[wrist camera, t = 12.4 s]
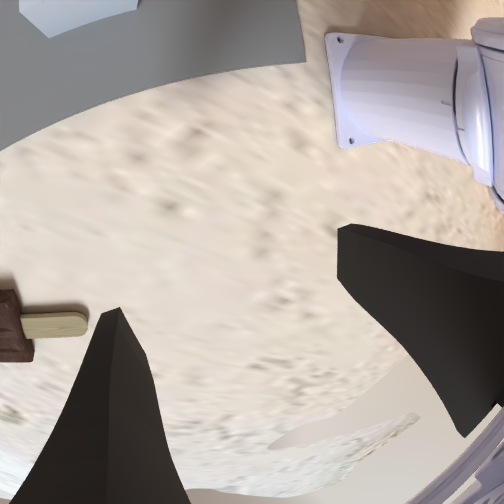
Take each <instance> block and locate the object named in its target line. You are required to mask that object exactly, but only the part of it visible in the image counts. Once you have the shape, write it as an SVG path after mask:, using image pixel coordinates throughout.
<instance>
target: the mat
mask: <svg viewBox="0 0 504 504" xmlns="http://www.w3.org/2000/svg"><path fill="white" fill-rule="evenodd" d="M302 62H306V56H305V50H304V44H303V38H302V32H301V27H300V22H299V17H298V11H297V6H296V2H295V0H138V4H137V9H136V10H132V11H128V12H124V13H121V14H117V15H113V16H110V17H107V18H103V19H100V20H97V21H94V22H91V23H88V24H85V25H82V26H79V27H77V28H74V29H71V30H69V31H66V32H63V33H61V34H59V35H56V36H54V37H51V38H48V37H47V36H46V35H45V34H43V33H42V32H41V31H40V30H39V29H38V28H37V27H36V26H35V25H34V24H32V23H31V22H30V21H29V20H28V19H27V18H26V17H25V16H24V15H22V14H21V13H20V12H19V0H0V151H1V150H3V149H5V148H7V147H8V146H10V145H12V144H14V143H16V142H18V141H19V140H21V139H23V138H25V137H27V136H29V135H31V134H33V133H35V132H37V131H39V130H41V129H43V128H46V127H48V126H50V125H52V124H54V123H56V122H59V121H61V120H63V119H66V118H68V117H70V116H73V115H75V114H78V113H80V112H83V111H85V110H88V109H90V108H93V107H96V106H98V105H101V104H104V103H107V102H109V101H112V100H115V99H118V98H121V97H124V96H127V95H131V94H134V93H137V92H140V91H144V90H147V89H151V88H154V87H158V86H162V85H166V84H169V83H174V82H178V81H182V80H186V79H191V78H195V77H200V76H205V75H210V74H215V73H221V72H227V71H233V70H239V69H246V68H253V67H261V66H270V65H280V64H291V63H302Z"/></svg>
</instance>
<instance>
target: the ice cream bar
mask: <svg viewBox="0 0 504 504" xmlns="http://www.w3.org/2000/svg"><path fill="white" fill-rule="evenodd" d="M87 330H88V321H87V319H86V317H85V316H84V315H82V314H81V313H78V312H63V313H44V314H22V311H21V307H20V303H19V301H18V299H17V296H16V294H15V291H14V289H11V290H0V362H32V361H33V357H34V352H35V351H34V348H33V344H32V341H31V339H33V338H60V337H78V336H82V335H84V334H85V333H86V332H87Z"/></svg>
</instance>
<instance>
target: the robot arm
mask: <svg viewBox="0 0 504 504" xmlns="http://www.w3.org/2000/svg"><path fill="white" fill-rule="evenodd" d="M470 32H471V35H472V39H471V40H468V39H452V38H400V39H394V38H387V37H380V36H372V35H362V34H351V33H336V32H332V33H327V34H326V35H325V44H326V50H327V57H328V64H329V71H330V78H331V86H332V94H333V102H334V111H335V121H336V132H337V143H338V145H339V147H341V148H343V149H348V148H353V147H357V146H362V145H367V144H372V143H377V142H382V141H387V140H390V141H394V142H398V143H402V144H405V145H409V146H412V147H415V148H419V149H422V150H425V151H428V152H432V153H435V154H438V155H441V156H444V157H447V158H450V159H453V160H455V161H458V162H461V163H464V164H466V165H469V166H472V168H473V172H474V179H475V180H476V181H479V182H481V183H484V184H486V185H488V186H490V187H489V188H490V194H491V197H492V199H493V201H494V203H495V205H496V206H497V207H498V209H499V210H500V211H501V212H502V213H503V214H504V18H481V19H479V20H478V21H477V22H476V24H475V26H473V27H472V28H471V29H470ZM337 37H338V38H339V39H340V43H339V42H338V40H337ZM350 138H351V142H350V143H349V139H350ZM337 279H338V280H339V281H340V282H341V284H342V285H343V286H344V288H345V289H346V290H347V291H348V293H349V294H350V295H351V296H352V297H353V299H354V300H355V301H356V302H357V303H358V304H359V305H361V306H362V307H363V308H364V309H365V310H366V311H367V312H368V313H369V314H370V315H371V316H372V317H373V318H374V319H375V320H376V321H377V322H379V323H380V324H381V325H382V326H383V327H384V328H385V329H386V330H387V331H388V332H389V333H390V334H391V335H392V336H393V337H394V338H395V339H396V340H397V341H398V342H399V343H400V344H401V345H402V346H403V347H404V348H405V350H406V351H407V352H408V353H409V355H410V356H411V357H412V358H413V359H414V361H415V362H416V363H417V365H418V366H419V367H420V368H421V370H422V371H423V373H424V374H425V376H426V377H427V378H428V380H429V381H430V383H431V384H432V386H433V387H434V389H435V390H436V392H437V394H438V395H439V397H440V399H441V400H442V402H443V404H444V405H445V407H446V409H447V411H448V413H449V415H450V417H451V419H452V420H453V423H454V425H455V427H456V429H457V431H458V432H459V433H460V434H461V435H462V436H463V437H464V438H465V437H467V435H468V434H469V433H471V431H472V430H473V429H474V428H475V427H476V426H477V425H478V424H479V423H480V422H481V421H482V420H483V419H484V418H485V417H486V415H487V414H488V413H489V412H490V411H491V410H492V409H493V407H494V406H495V405H496V404H497V403H498V404H499V405H500V406H501V407H502V409H501V410H500V411H499V413H498V414H497V415H496V416H495V418H494V419H493V420H492V421H491V422H490V424H489V425H488V426H487V427H486V428H485V429H484V431H483V432H482V433H481V434H480V435H479V436H478V437H477V438H476V440H475V441H474V442H473V443H472V444H471V445H470V446H469V447H468V448H467V449H466V450H465V451H464V453H462V454H461V455H460V457H458V458H457V459H456V460H455V461H454V462H453V463H452V464H451V465H450V466H449V467H448V468H447V469H446V470H445V471H444V472H442V473H441V475H439V476H438V477H437V478H436V479H435V480H434V481H432V482H431V483H430V484H429V485H428V486H426V487H425V488H424V489H423V490H422V491H420V492H419V493H418V494H417V495H415V496H414V497H413V498H412V499H410V500H409V501H408V502H406V503H405V504H442V503H443V502H444V501H445V500H446V499H447V498H449V497H450V496H451V495H452V494H453V493H454V492H455V491H456V490H457V489H458V488H459V487H460V486H461V485H462V484H463V483H464V482H465V481H466V480H467V479H468V478H469V477H470V476H471V475H472V474H473V473H474V472H475V471H476V470H477V469H478V468H479V469H478V470H477V472H476V474H475V478H476V479H477V480H476V481H475V482H474V483H473V484H472V485H471V486H470V487H468V488H467V490H465V491H464V492H463V493H462V494H461V495H460V496H459V497H458V498H456V499H455V500H454V501H453V502H452V503H451V504H504V442H502V443H501V444H500V445H499V446H498V447H497V445H498V444H499V443H500V442H501V440H502V439H503V438H504V252H499V251H486V250H476V249H469V248H462V247H456V246H450V245H445V244H440V243H436V242H431V241H427V240H423V239H419V238H414V237H410V236H407V235H403V234H399V233H395V232H391V231H387V230H383V229H378V228H374V227H370V226H365V225H359V224H349V225H346V226H344V227H341V228H338V253H337ZM496 447H497V448H496ZM495 448H496V449H495ZM494 449H495V450H494ZM493 450H494V451H493ZM480 465H481V466H480ZM479 466H480V467H479ZM9 504H191V503H190V501H189V498H188V496H187V494H186V492H185V490H184V487H183V485H182V483H181V481H180V478H179V476H178V473H177V471H176V468H175V466H174V463H173V461H172V458H171V455H170V452H169V448H168V445H167V441H166V437H165V432H164V428H163V424H162V419H161V414H160V410H159V405H158V400H157V395H156V390H155V385H154V381H153V377H152V374H151V370H150V367H149V364H148V360H147V357H146V354H145V352H144V350H143V349H142V347H141V345H140V343H139V342H138V340H137V338H136V336H135V334H134V333H133V331H132V329H131V327H130V325H129V323H128V322H127V320H126V318H125V316H124V314H123V312H122V310H121V308H120V307H119V308H116V309H113V310H110V311H107V312H104V313H102V314H101V316H100V318H99V320H98V323H97V325H96V328H95V330H94V333H93V336H92V338H91V341H90V344H89V346H88V349H87V351H86V354H85V357H84V359H83V362H82V364H81V367H80V370H79V372H78V375H77V377H76V380H75V382H74V384H73V387H72V389H71V392H70V394H69V397H68V399H67V401H66V404H65V406H64V408H63V410H62V413H61V415H60V417H59V419H58V421H57V423H56V425H55V427H54V429H53V431H52V433H51V435H50V437H49V439H48V441H47V442H46V444H45V446H44V448H43V450H42V451H41V453H40V455H39V457H38V459H37V461H36V462H35V464H34V466H33V468H32V469H31V471H30V473H29V474H28V476H27V477H26V479H25V481H24V482H23V484H22V485H21V487H20V488H19V490H18V491H17V493H16V494H15V496H14V497H13V499H12V500H11V502H10V503H9Z"/></svg>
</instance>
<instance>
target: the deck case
mask: <svg viewBox="0 0 504 504" xmlns="http://www.w3.org/2000/svg"><path fill="white" fill-rule="evenodd" d="M137 4H138V0H19V12H20V13H21V14H22V15H24V16H25V17H26V18H27V19H28V20H29V21H30V22H31V23H32V24H34V25H35V26H36V27H37V28H38V29H39V30H40V31H41V32H42V33H43V34H45V35H46V36H47V37H48V38H51V37H54V36H56V35H59V34H61V33H63V32H66V31H69V30H71V29H74V28H77V27H79V26H82V25H85V24H88V23H91V22H94V21H97V20H100V19H103V18H107V17H110V16H113V15H117V14H121V13H124V12H128V11H132V10H136V9H137Z"/></svg>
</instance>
